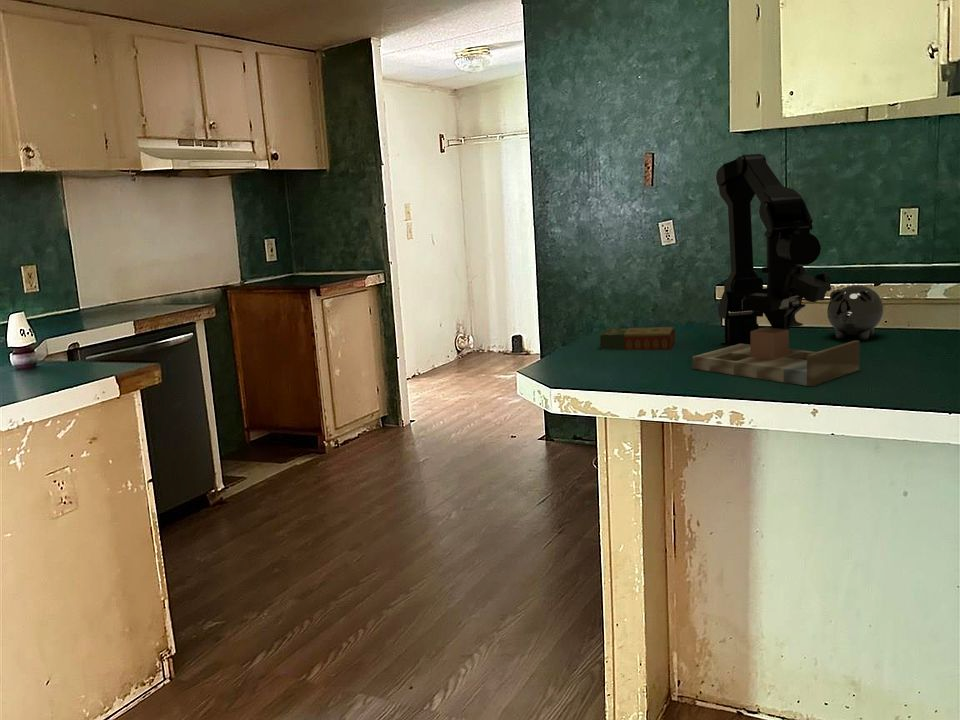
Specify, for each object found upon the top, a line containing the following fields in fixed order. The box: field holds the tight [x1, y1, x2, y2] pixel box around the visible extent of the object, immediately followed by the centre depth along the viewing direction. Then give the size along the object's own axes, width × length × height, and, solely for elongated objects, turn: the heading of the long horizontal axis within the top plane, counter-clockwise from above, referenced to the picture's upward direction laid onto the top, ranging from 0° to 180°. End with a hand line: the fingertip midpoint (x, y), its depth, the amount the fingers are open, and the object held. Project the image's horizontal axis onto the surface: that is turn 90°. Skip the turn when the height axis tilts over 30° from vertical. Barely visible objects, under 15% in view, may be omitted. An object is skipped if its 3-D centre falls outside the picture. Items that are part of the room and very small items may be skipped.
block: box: [750, 326, 790, 360], centre depth 158 cm, size 5×5×5 cm
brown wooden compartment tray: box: [692, 339, 861, 387], centre depth 158 cm, size 26×16×6 cm, turn 38°
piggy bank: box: [826, 284, 884, 341], centre depth 182 cm, size 11×15×12 cm
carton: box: [599, 326, 676, 351], centre depth 190 cm, size 8×16×4 cm, turn 70°
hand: (782, 341), depth 161 cm, fingers closed
